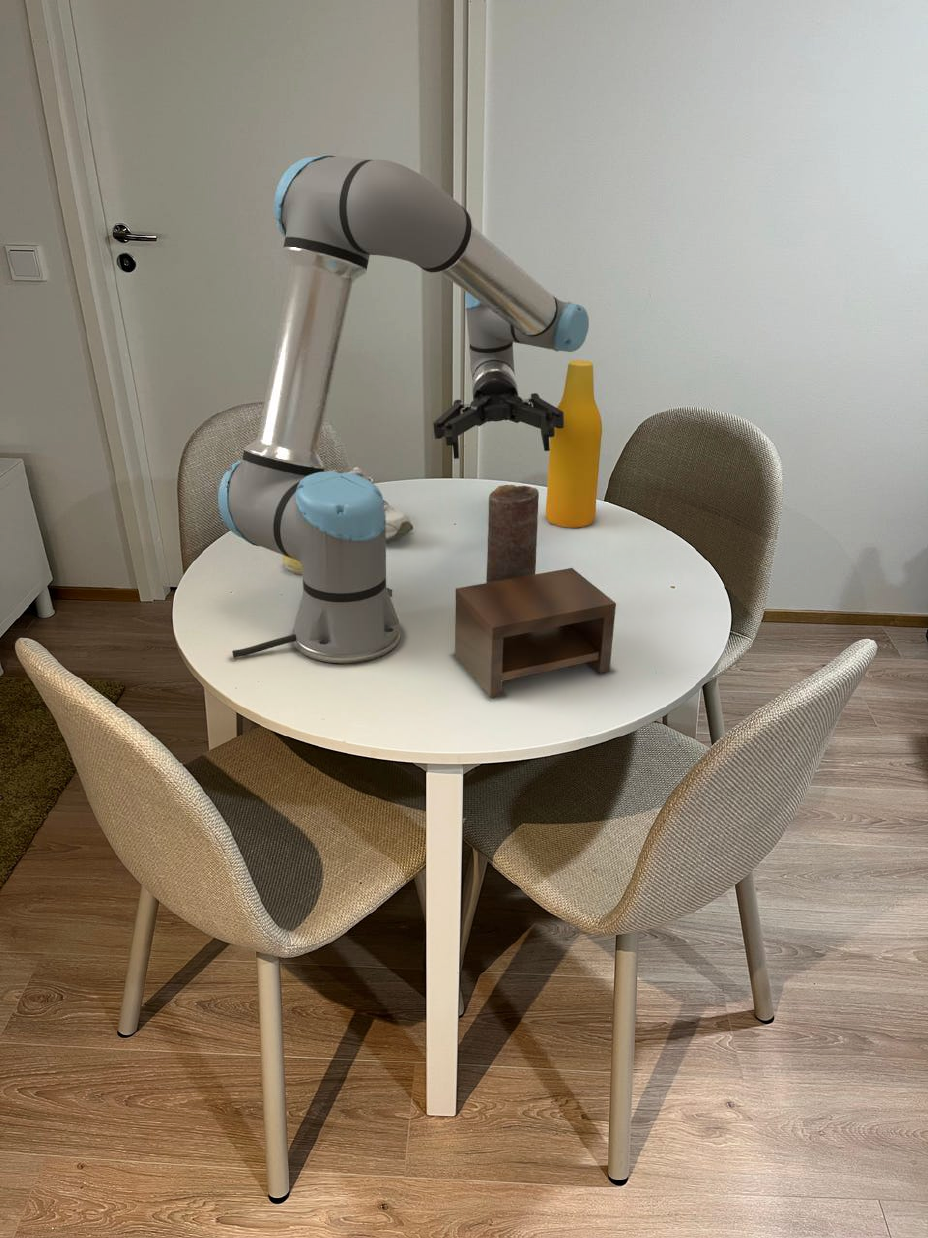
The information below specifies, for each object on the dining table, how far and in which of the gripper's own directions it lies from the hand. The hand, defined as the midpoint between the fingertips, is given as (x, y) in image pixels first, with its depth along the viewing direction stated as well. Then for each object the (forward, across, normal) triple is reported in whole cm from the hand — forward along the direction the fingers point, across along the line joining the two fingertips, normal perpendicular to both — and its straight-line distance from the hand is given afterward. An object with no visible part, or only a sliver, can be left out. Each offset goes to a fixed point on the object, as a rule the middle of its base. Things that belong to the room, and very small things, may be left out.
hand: (501, 446), depth 146 cm
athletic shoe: (-21, +25, -24) cm, 41 cm away
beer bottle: (-26, -12, -28) cm, 40 cm away
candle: (+12, +1, -22) cm, 25 cm away
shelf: (+26, -2, -21) cm, 34 cm away
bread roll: (-5, +33, -21) cm, 39 cm away
